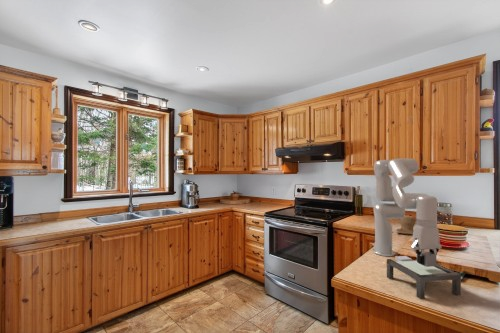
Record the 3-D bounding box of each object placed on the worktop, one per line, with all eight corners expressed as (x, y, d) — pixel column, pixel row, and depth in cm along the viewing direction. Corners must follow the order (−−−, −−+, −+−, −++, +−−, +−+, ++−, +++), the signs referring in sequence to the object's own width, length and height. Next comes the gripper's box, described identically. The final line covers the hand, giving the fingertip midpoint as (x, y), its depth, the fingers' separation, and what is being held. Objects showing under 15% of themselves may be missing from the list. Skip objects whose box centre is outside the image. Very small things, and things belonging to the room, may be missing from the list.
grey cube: (416, 262, 108) (416, 251, 108) (426, 261, 109) (426, 250, 109) (426, 266, 103) (426, 255, 103) (436, 266, 104) (436, 254, 104)
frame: (386, 277, 117) (386, 259, 117) (421, 274, 120) (421, 257, 120) (420, 299, 98) (420, 277, 98) (460, 295, 100) (460, 274, 100)
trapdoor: (388, 260, 120) (388, 256, 120) (412, 259, 122) (412, 255, 122) (420, 278, 101) (420, 274, 101) (448, 276, 103) (448, 272, 103)
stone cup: (413, 232, 197) (413, 214, 197) (419, 236, 186) (419, 217, 186) (393, 230, 202) (393, 213, 202) (397, 234, 190) (397, 216, 190)
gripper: (435, 220, 111) (435, 259, 111) (403, 221, 108) (402, 261, 109) (451, 224, 103) (450, 265, 104) (416, 226, 101) (416, 268, 101)
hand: (426, 262), depth 106 cm, fingers closed on grey cube, 5 cm apart
